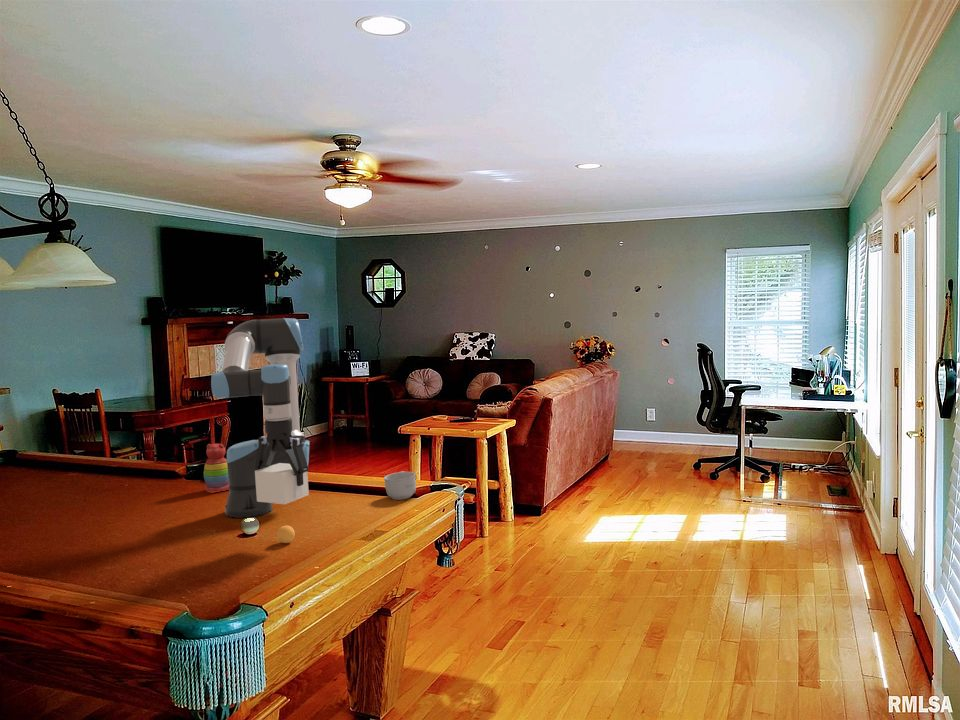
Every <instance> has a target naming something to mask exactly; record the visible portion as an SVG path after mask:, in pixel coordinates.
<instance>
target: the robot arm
mask: <svg viewBox="0 0 960 720" xmlns="http://www.w3.org/2000/svg"><path fill="white" fill-rule="evenodd" d="M224 349H225V356H224V359H223V364H222V368H221V371H218V372H217V371H216V372H213V373H212V375H211V378H210V379H211V380H210V381H211V382H210V384H211V385H210V386H211V387H210V388H211V393H212V396H213V397H214V398H217V399H219V398H220V399H223V398H224V399H229V398H239V397H240V398H241V397H253V396H262V402H263V403H262V404H263V414H264V415H263V418H264V419H265V421H264V432H265V434H266V435H263V436H260V437H259V436H258V438H257V439H251V440H247V441H242V442H239V443H235V444H233V445H232V446H229V447H228V449H226V460H227V461H226V462H227V467H228V481H229V491H228V493H227V494H228V495H227V500H226V505H225V506H224V515H225V514H226V515H227V516H226V515H225V516H226V517H228V516H229V517H228V518H232V517H235V518H234V519H242V518H243V517H246V518H249V517H248V516H254V517H259V516H261V515H265V514H268V513H270V512H272V510H273V503H267V502H257V495H256V481H255V471H256V470H259V469H262V468H265V467H269V466H272V465H275V464H278V463H286V464H290V465H291V467H292V469H293V471H294V473H295V474H294V475H293V487H294V498H298V497H300V496H303V495H302V485H303V473H304V472H307V473H308V472H309V471H310V470H309V461H310V460H309V459H310V457H309V456H310V440H307V439H306V435H305V434H304V433H303V432H301V428H300V426H301V425H300V424H301V423H300V412H299V411H300V410H299V409H300V408H299V394H298V392H299V391H298V375H297V374H298V373H297V360H299V358H301V352H304V350H305V348H304V343H303V338H302V333H301V327H300V324H299V320H297V318H294V317H293V318H290V317H289V318H288V317H287V318H285V317H282V318H280V317H279V318H268V319H267V318H265V319H251V320H247V321H244V322H242V323H240V324H238V325H237V326H235V327H234V328H233V329H232V330H231V331H230V332H229V333H228V334H227V336H226V338H225V342H224ZM253 354H254V355H255V354H264V358H265V359H264V360H266V361H267V362H268V363H269V364H265V365H263V366H262V367H260V369H252V370H251V369H250V368H249V367H250V362H251V356H252V355H253ZM249 369H250V370H249ZM269 511H270V512H269ZM258 515H259V516H258ZM243 519H244V518H243Z"/></svg>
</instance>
